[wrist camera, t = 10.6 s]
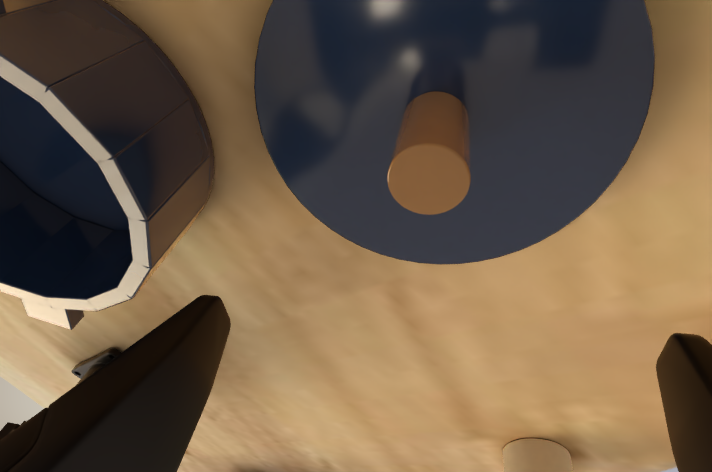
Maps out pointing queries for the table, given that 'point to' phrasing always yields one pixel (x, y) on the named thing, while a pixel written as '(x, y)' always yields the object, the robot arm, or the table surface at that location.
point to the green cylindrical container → (536, 456)
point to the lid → (452, 116)
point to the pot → (91, 157)
